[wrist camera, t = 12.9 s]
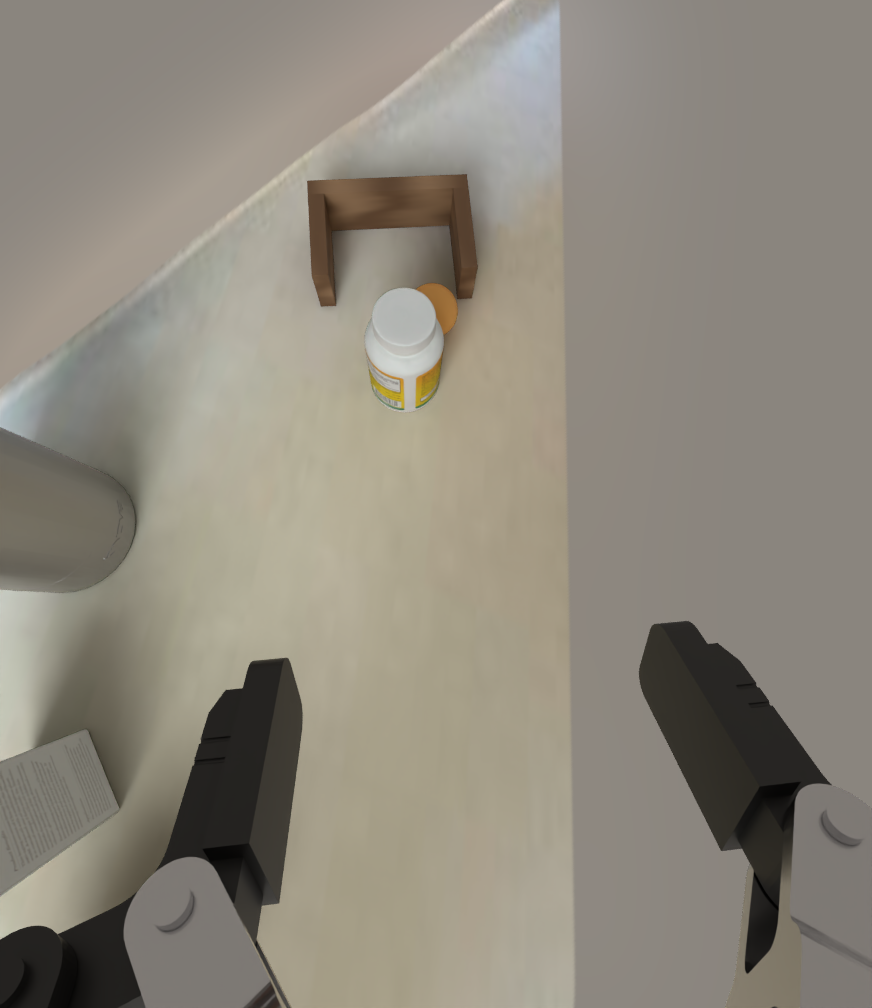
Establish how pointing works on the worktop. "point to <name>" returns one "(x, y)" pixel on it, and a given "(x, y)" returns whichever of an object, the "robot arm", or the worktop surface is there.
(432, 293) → the ball
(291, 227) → the worktop surface
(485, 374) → the worktop surface
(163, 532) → the worktop surface
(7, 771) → the skincare box
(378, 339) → the supplement bottle
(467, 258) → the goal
